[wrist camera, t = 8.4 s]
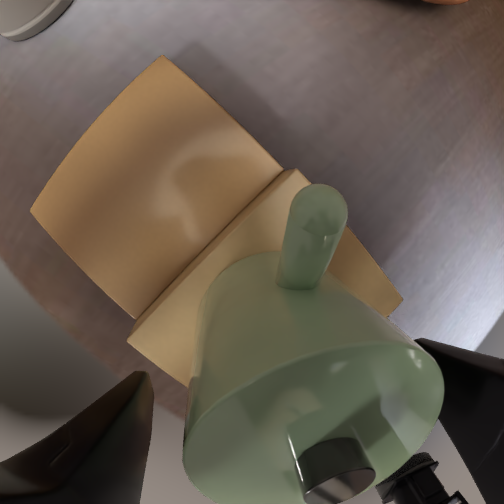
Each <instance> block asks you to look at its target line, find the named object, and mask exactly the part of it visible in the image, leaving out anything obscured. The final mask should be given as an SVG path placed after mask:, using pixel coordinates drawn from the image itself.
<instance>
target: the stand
mask: <svg viewBox="0 0 504 504" xmlns="http://www.w3.org/2000/svg"><path fill="white" fill-rule="evenodd" d="M310 184H311V183H310V182H309V181H308V180H307V179H306V177H305V176H304V175H303V174H302V173H301V172H300V171H299V170H298V169H291V170H286V171H284V168H283V167H282V166H281V165H280V164H279V163H278V162H277V161H276V160H275V159H274V158H273V157H272V156H271V155H270V154H269V153H268V152H267V151H266V150H265V149H264V148H263V147H262V146H261V145H260V144H259V143H258V141H257V140H256V139H255V138H254V137H253V136H252V135H251V134H250V133H249V132H248V131H246V130H245V129H244V128H243V127H242V126H241V125H240V124H239V123H238V122H237V121H236V120H235V119H234V118H233V117H232V116H231V115H230V114H229V113H228V112H227V111H226V110H225V109H224V108H223V107H222V106H221V105H219V104H218V103H217V102H216V101H215V100H214V99H213V98H212V97H211V96H210V95H209V94H208V93H206V92H205V91H204V90H203V89H202V88H201V87H200V86H199V85H198V84H196V83H195V82H194V81H193V80H192V79H191V78H190V77H189V76H187V75H186V74H185V73H184V72H183V71H182V70H180V69H179V68H178V67H177V66H176V65H175V64H173V63H172V62H171V61H170V60H169V59H168V58H166V57H165V56H164V55H161V56H160V57H159V58H158V59H156V60H155V61H154V62H153V63H152V64H151V65H150V66H148V67H147V68H146V69H145V70H144V71H143V72H142V73H141V74H140V75H139V76H138V77H137V78H135V79H134V80H133V81H132V82H131V83H130V84H129V85H128V86H127V87H126V88H125V89H124V90H123V91H122V92H121V93H120V94H119V95H118V96H117V97H116V98H115V99H114V100H113V101H112V103H111V104H110V105H109V106H108V107H107V108H106V109H105V110H104V111H103V112H102V113H101V114H100V116H99V117H98V118H97V119H96V120H95V121H94V122H93V124H92V125H91V126H90V127H89V128H88V129H87V131H86V132H85V133H84V134H83V135H82V137H81V138H80V139H79V140H78V142H77V143H76V144H75V145H74V147H73V148H72V149H71V151H70V152H69V153H68V154H67V156H66V157H65V158H64V160H63V161H62V163H61V164H60V165H59V167H58V168H57V169H56V171H55V172H54V174H53V175H52V177H51V178H50V179H49V181H48V182H47V184H46V185H45V187H44V188H43V190H42V192H41V193H40V195H39V196H38V198H37V199H36V201H35V203H34V204H33V206H32V207H31V209H30V212H31V213H32V215H33V216H34V217H35V218H36V219H37V221H38V222H39V223H40V224H41V225H42V227H43V228H44V229H45V230H46V231H47V232H48V234H49V235H50V236H51V237H52V238H53V239H54V240H55V241H56V243H57V244H58V245H59V246H60V247H61V248H62V249H63V250H64V251H65V252H66V253H67V255H68V256H69V257H70V258H71V259H72V260H73V261H74V262H75V263H76V264H77V265H78V266H79V267H80V268H81V269H82V270H83V271H84V272H85V273H86V274H87V275H88V276H89V277H90V278H91V279H92V280H93V281H94V282H95V283H96V284H97V285H98V286H99V287H100V288H101V289H102V290H103V291H104V292H105V293H106V294H107V295H108V296H109V297H111V298H112V299H113V300H114V301H115V302H116V303H117V304H118V305H119V306H120V307H121V308H122V309H124V310H125V311H126V312H127V313H128V314H129V315H130V316H131V317H133V318H134V319H135V320H137V321H136V323H135V325H134V327H133V329H132V331H131V332H130V334H129V336H128V338H127V342H128V343H129V344H131V345H132V346H133V347H134V348H135V349H137V350H138V351H139V352H140V353H142V354H143V355H144V356H145V357H147V358H148V359H149V360H150V361H152V362H153V363H154V364H156V365H157V366H158V367H160V368H161V369H162V370H164V371H165V372H166V373H168V374H169V375H170V376H172V377H173V378H175V379H176V380H177V381H179V382H180V383H182V384H183V385H184V386H186V387H187V388H188V386H189V377H190V368H191V359H192V351H193V343H194V335H195V327H196V319H197V313H198V309H199V305H200V303H201V300H202V298H203V295H204V294H205V292H206V290H207V289H208V287H209V286H210V285H211V283H212V282H213V281H214V280H215V278H216V277H218V276H219V275H220V274H221V273H222V272H223V271H224V270H225V269H227V268H228V267H230V266H231V265H232V264H234V263H236V262H238V261H240V260H242V259H244V258H246V257H249V256H252V255H255V254H259V253H263V252H271V251H281V249H282V244H283V239H284V234H285V229H286V224H287V219H288V214H289V209H290V205H291V202H292V200H293V198H294V196H295V195H296V193H297V192H298V191H299V190H301V189H302V188H303V187H305V186H308V185H310ZM327 269H328V270H329V271H331V272H332V273H333V274H334V275H336V276H337V277H338V278H339V279H341V280H342V281H343V282H344V283H346V284H347V285H348V286H349V287H350V288H352V289H353V290H354V291H355V292H357V293H358V294H359V295H360V296H361V297H363V298H364V299H365V300H366V301H367V302H369V303H370V304H371V305H372V306H373V307H375V308H376V309H377V310H378V311H379V312H381V313H382V314H383V315H384V316H385V317H388V316H389V315H390V314H391V313H392V312H393V311H394V310H395V309H396V308H397V306H398V305H399V304H400V303H401V302H402V301H403V298H402V297H401V296H400V294H399V293H398V291H397V290H396V289H395V287H394V286H393V284H392V283H391V282H390V280H389V279H388V278H387V276H386V275H385V274H384V272H383V271H382V270H381V268H380V267H379V266H378V264H377V263H376V262H375V260H374V259H373V258H372V256H371V255H370V254H369V253H368V251H367V250H366V249H365V247H364V246H363V245H362V244H361V242H360V241H359V240H358V239H357V237H356V236H355V235H354V234H353V232H352V231H351V230H350V229H349V227H348V226H347V225H346V226H345V228H344V231H343V233H342V236H341V238H340V240H339V243H338V245H337V247H336V250H335V252H334V254H333V257H332V259H331V261H330V263H329V266H328V268H327Z"/></svg>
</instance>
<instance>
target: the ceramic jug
mask: <svg viewBox="0 0 504 504" xmlns="http://www.w3.org/2000/svg"><path fill="white" fill-rule="evenodd" d="M422 1H425V2H429V3H434V4H441V5H456V4H461V3H465V2H467V1H469V0H422Z"/></svg>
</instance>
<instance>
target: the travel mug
mask: <svg viewBox="0 0 504 504" xmlns="http://www.w3.org/2000/svg"><path fill="white" fill-rule="evenodd" d="M71 2H72V0H0V34H1V35H2V36H4V37H6V38H7V39H9V40H12V41H20V40H24V39H27V38H30V37H32V36H34V35H36V34H37V33H39V32H41V31H42V30H43V29H45V28H46V27H48V26H49V25H50V24H51V23H52V22H54V21H55V20H56V19H57V18H58V17H59V16H60V15H61V14H62V13H63V12H64V11H65V9H66V8H67V7H68V6H69V4H70V3H71Z"/></svg>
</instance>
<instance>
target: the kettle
mask: <svg viewBox="0 0 504 504" xmlns="http://www.w3.org/2000/svg"><path fill="white" fill-rule="evenodd" d="M347 219H348V207H347V204H346V201H345V199H344V197H343V196H342V194H341V193H340V192H339V191H338V190H336V189H335V188H333V187H331V186H329V185H326V184H320V183H316V184H310V185H308V186H305V187H303V188H302V189H301V190H299V191H298V192H297V193H296V195H295V196H294V198H293V200H292V202H291V205H290V209H289V214H288V219H287V224H286V229H285V234H284V239H283V244H282V249H281V251H271V252H263V253H259V254H255V255H252V256H249V257H246V258H244V259H242V260H240V261H238V262H236V263H234V264H232V265H231V266H230V267H228V268H227V269H225V270H224V271H223V272H222V273H221V274H220V275H219V276H218V277H216V278H215V280H214V281H213V282H212V283H211V285H210V286H209V287H208V289H207V290H206V292H205V294H204V295H203V298H202V300H201V303H200V305H199V309H198V313H197V319H196V327H195V335H194V343H193V351H192V359H191V368H190V377H189V386H188V396H187V406H186V417H185V428H184V440H183V460H182V461H183V465H184V470H185V472H186V474H187V476H188V478H189V480H190V482H191V483H192V484H193V485H194V487H195V488H196V489H197V490H198V491H199V492H201V493H202V494H203V495H204V496H205V497H207V498H209V499H210V500H212V501H213V502H216V503H218V504H337V503H340V502H343V501H346V500H348V499H350V498H352V497H354V496H357V495H359V494H361V493H363V492H365V491H366V490H368V489H370V488H372V487H373V486H375V485H377V484H378V483H380V482H381V481H383V480H384V479H386V478H387V477H389V476H390V475H391V474H393V473H394V472H395V471H396V470H398V469H399V468H400V467H401V466H402V465H403V464H404V463H406V462H407V461H408V460H409V459H410V458H411V457H412V456H413V455H414V453H415V452H416V451H417V450H418V449H419V448H420V446H421V445H422V444H423V443H424V441H425V440H426V438H427V437H428V435H429V434H430V432H431V431H432V429H433V427H434V425H435V423H436V421H437V419H438V417H439V414H440V412H441V408H442V404H443V400H444V391H445V389H444V379H443V376H442V373H441V369H440V367H439V366H438V364H437V362H436V361H435V359H434V358H432V357H431V356H430V355H429V354H428V353H427V352H426V351H425V350H424V349H423V348H422V347H421V346H419V345H418V344H417V343H416V342H415V341H414V340H412V339H411V338H410V337H409V336H408V335H407V334H405V333H404V332H403V331H402V330H401V329H400V328H398V327H397V326H396V325H395V324H394V323H393V322H391V321H390V320H389V319H388V318H387V317H385V316H384V315H383V314H382V313H381V312H379V311H378V310H377V309H376V308H375V307H373V306H372V305H371V304H370V303H369V302H367V301H366V300H365V299H364V298H363V297H361V296H360V295H359V294H358V293H357V292H355V291H354V290H353V289H352V288H350V287H349V286H348V285H347V284H346V283H344V282H343V281H342V280H341V279H339V278H338V277H337V276H336V275H334V274H333V273H332V272H331V271H329V270H328V269H327V268H328V266H329V263H330V261H331V259H332V257H333V254H334V252H335V250H336V247H337V245H338V243H339V240H340V238H341V236H342V233H343V231H344V228H345V226H346V223H347Z"/></svg>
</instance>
